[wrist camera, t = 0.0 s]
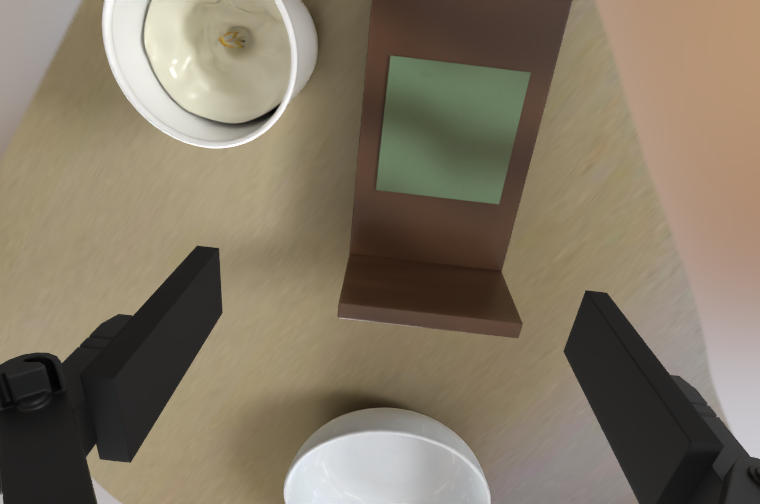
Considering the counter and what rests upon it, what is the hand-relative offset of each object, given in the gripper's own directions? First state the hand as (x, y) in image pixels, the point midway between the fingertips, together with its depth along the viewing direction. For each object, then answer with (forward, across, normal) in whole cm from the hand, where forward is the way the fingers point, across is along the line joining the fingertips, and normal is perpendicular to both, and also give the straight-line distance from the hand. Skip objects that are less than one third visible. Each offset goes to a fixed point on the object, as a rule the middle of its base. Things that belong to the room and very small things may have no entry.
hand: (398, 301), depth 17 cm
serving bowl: (+23, +3, -34) cm, 41 cm away
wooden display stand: (+23, +3, +3) cm, 23 cm away
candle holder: (+23, -11, +7) cm, 26 cm away
